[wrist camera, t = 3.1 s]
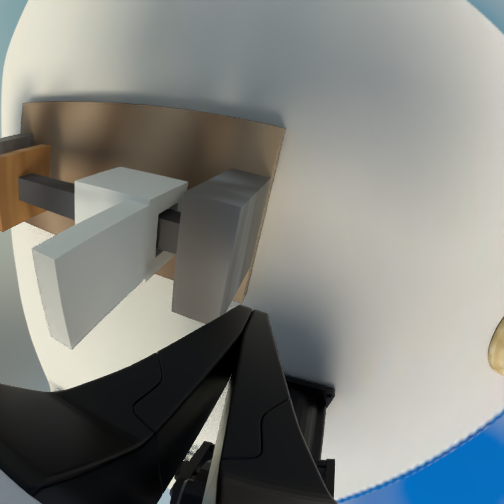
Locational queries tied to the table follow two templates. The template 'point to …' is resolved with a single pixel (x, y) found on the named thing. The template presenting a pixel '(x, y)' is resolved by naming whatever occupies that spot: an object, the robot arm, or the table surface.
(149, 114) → the rail board
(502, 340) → the hand bell
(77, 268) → the white l-bracket
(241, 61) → the table surface
